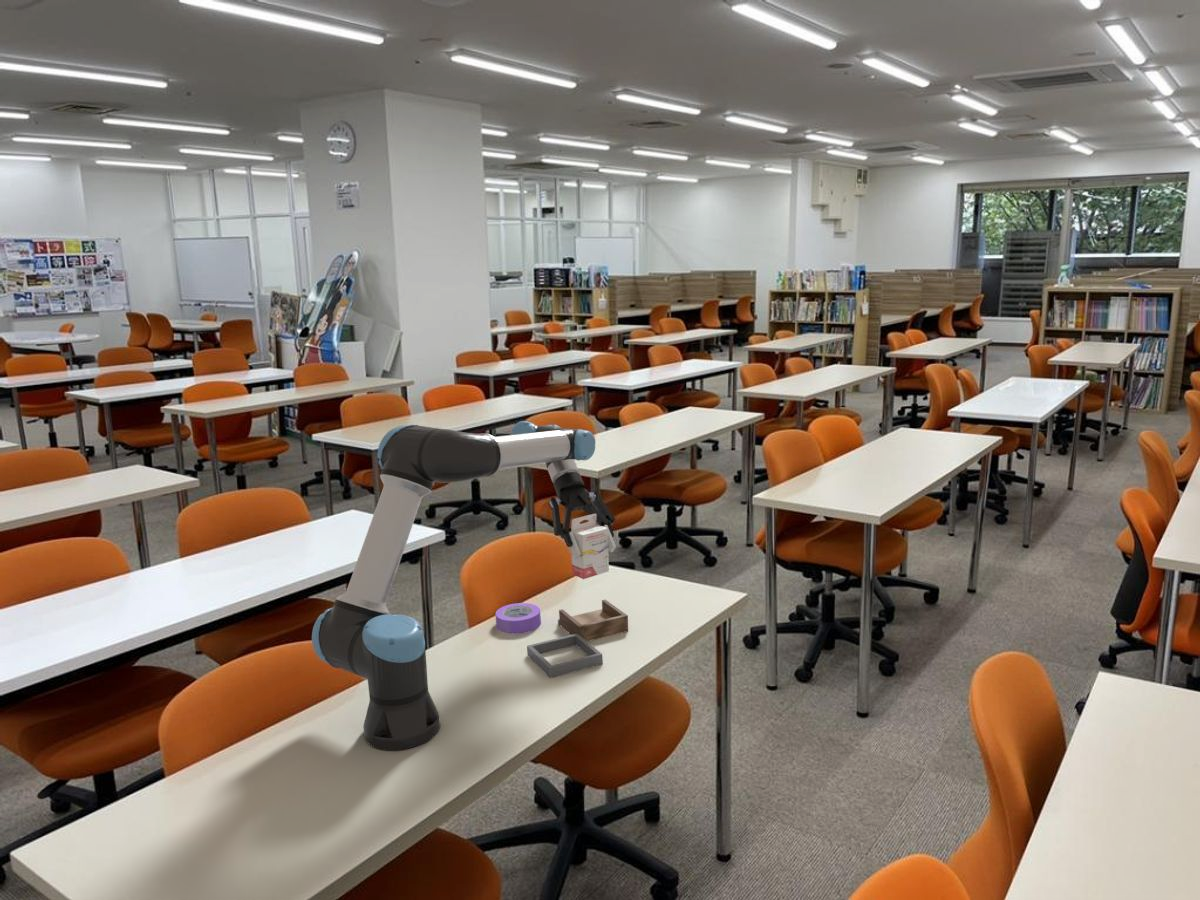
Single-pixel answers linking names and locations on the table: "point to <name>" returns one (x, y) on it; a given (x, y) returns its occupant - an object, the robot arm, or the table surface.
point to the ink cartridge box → (590, 547)
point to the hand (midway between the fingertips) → (595, 553)
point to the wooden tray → (595, 622)
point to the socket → (568, 666)
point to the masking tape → (518, 618)
